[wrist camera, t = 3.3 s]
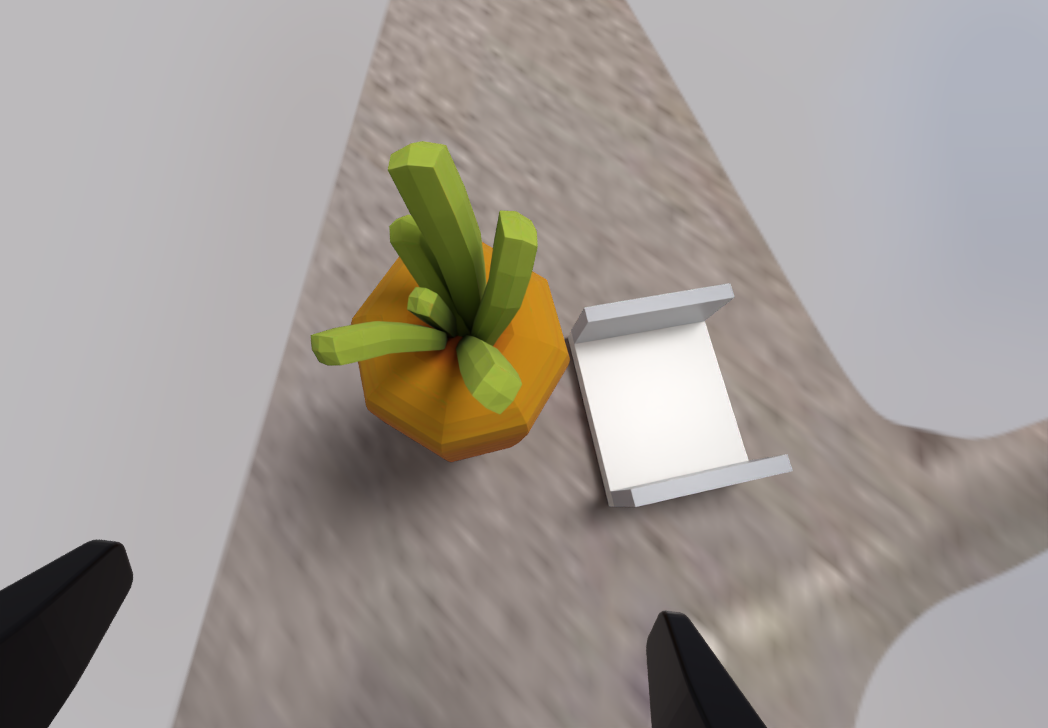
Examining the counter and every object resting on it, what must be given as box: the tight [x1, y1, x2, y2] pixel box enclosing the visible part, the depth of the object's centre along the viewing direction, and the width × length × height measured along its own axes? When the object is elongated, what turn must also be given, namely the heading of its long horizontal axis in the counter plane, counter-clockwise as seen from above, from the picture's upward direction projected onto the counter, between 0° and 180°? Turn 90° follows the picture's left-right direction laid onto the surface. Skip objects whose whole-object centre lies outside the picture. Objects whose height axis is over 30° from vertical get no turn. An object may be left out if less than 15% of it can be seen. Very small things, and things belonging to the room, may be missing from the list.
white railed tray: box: [568, 283, 793, 507], centre depth 20 cm, size 7×6×4 cm
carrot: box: [311, 141, 570, 462], centre depth 14 cm, size 5×5×15 cm
